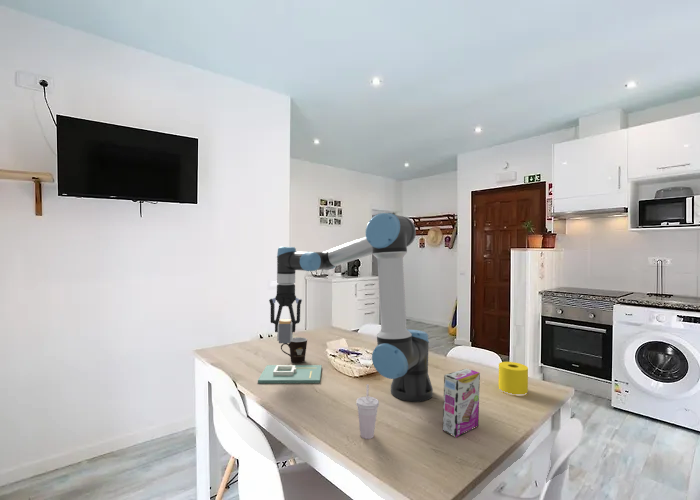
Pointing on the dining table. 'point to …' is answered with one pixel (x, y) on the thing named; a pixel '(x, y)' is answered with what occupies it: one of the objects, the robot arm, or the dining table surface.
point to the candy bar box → (461, 401)
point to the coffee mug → (297, 349)
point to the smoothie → (367, 415)
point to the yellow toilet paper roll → (513, 377)
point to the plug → (284, 330)
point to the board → (291, 374)
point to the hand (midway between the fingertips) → (285, 339)
